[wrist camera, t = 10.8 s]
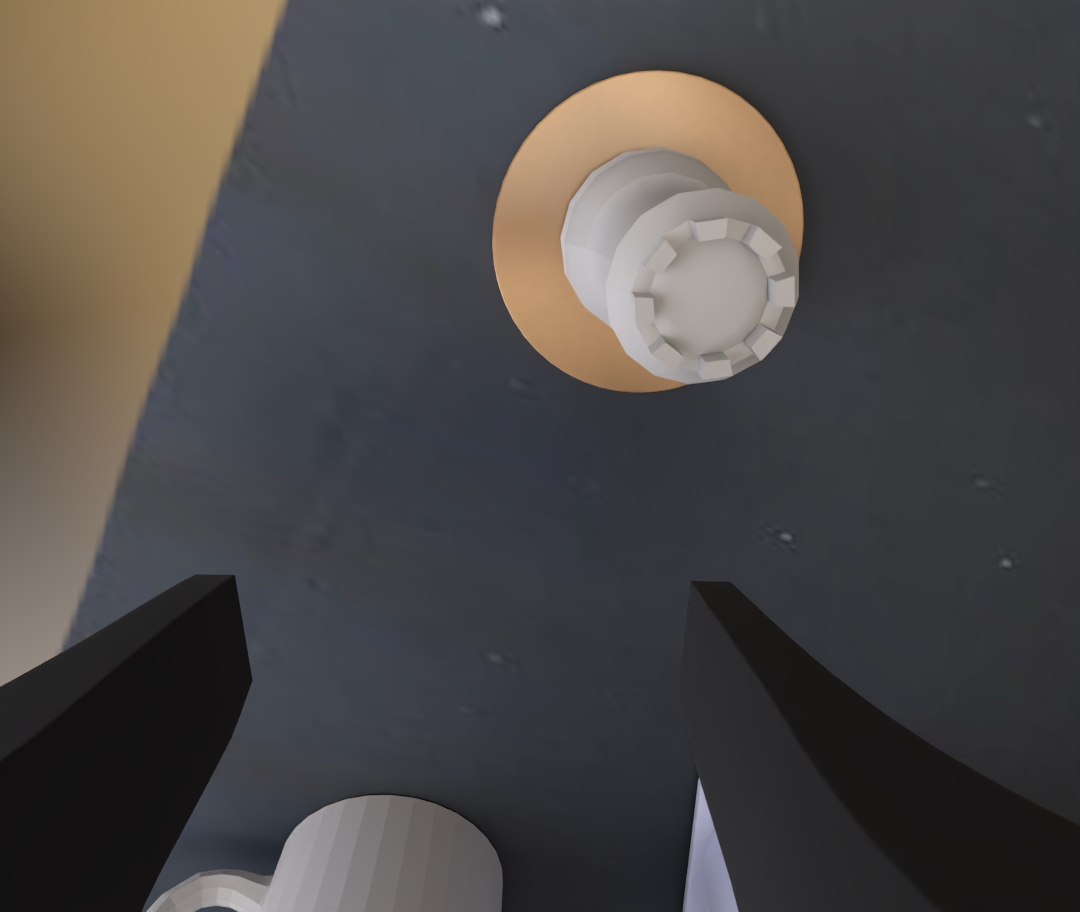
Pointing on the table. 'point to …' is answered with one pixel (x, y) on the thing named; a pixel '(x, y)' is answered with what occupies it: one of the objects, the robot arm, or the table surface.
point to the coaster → (585, 145)
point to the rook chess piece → (680, 265)
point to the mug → (362, 865)
